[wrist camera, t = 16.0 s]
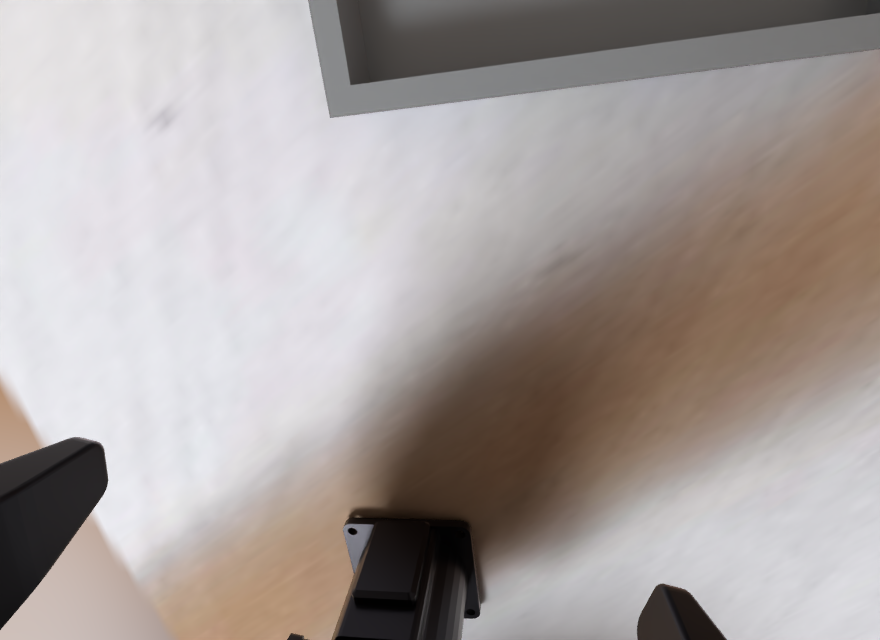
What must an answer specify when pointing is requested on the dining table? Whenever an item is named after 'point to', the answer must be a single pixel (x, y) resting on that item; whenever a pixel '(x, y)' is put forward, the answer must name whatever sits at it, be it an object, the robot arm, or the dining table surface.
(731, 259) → the dining table surface
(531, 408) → the dining table surface
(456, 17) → the tray
